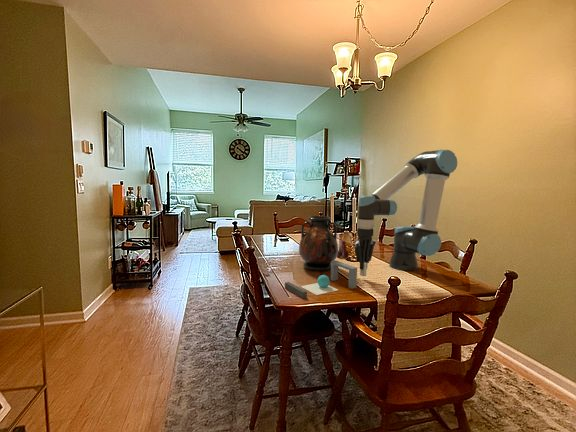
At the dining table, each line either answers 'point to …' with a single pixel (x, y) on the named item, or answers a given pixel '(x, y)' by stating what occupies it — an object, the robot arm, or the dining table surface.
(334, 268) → the bridge
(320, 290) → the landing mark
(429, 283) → the dining table surface
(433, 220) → the robot arm
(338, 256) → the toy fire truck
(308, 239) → the amphora vase
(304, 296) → the stopper
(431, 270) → the dining table surface
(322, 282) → the ball
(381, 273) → the dining table surface
